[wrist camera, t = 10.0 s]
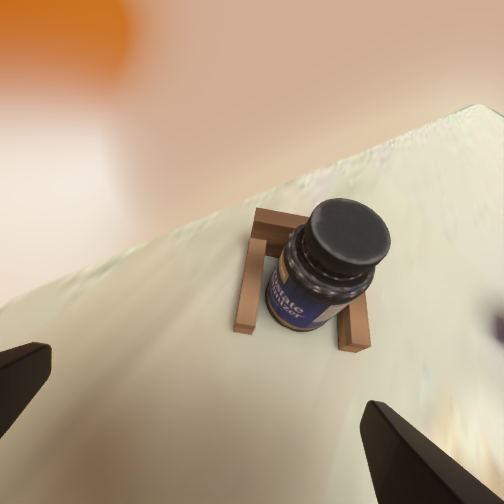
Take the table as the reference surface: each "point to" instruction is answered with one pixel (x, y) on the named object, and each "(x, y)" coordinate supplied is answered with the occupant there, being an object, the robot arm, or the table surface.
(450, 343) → the table surface
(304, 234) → the pill bottle
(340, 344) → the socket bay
